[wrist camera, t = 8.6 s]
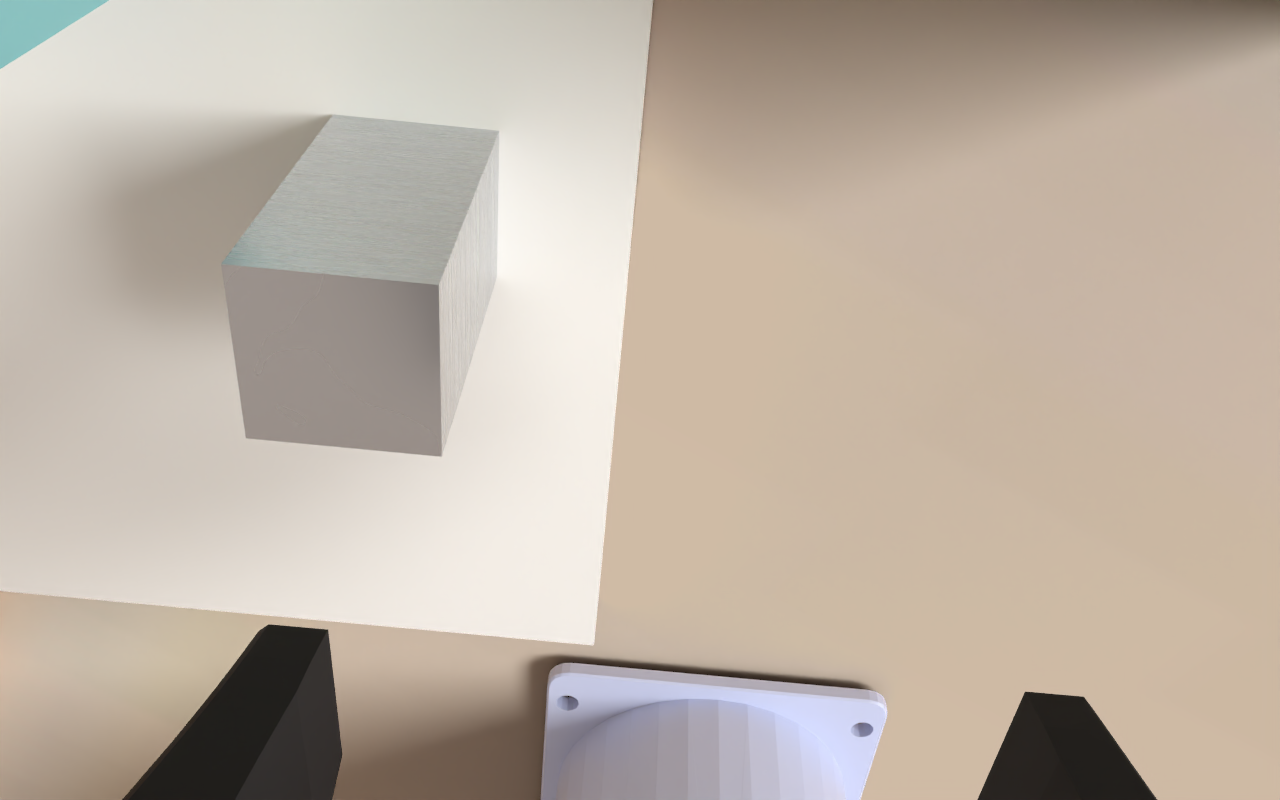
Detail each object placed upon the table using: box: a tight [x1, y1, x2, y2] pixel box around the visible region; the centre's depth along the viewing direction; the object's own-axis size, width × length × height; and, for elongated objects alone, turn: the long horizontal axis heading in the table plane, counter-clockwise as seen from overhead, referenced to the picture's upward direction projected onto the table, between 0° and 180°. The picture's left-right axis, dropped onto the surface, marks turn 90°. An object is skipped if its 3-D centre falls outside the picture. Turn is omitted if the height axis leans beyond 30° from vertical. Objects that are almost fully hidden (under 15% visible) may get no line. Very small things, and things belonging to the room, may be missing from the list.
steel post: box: [221, 115, 499, 457], centre depth 16 cm, size 3×3×5 cm
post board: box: [0, 0, 653, 645], centre depth 19 cm, size 20×14×2 cm
